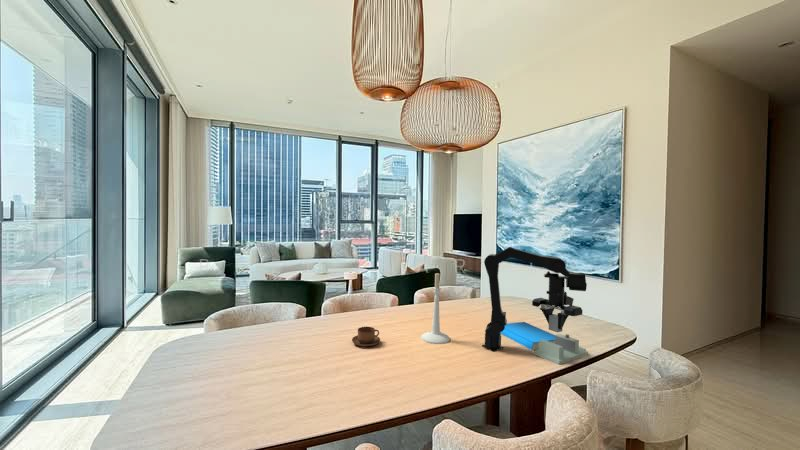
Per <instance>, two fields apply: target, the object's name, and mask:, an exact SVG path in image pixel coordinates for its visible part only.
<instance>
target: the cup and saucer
mask: <svg viewBox="0 0 800 450" xmlns="http://www.w3.org/2000/svg"><path fill="white" fill-rule="evenodd" d="M376 332H377V333H376ZM375 333H376V334H375ZM379 335H380V331H379V329H375V328H374V327H372V326H361V327H358V328H357V335H355V336H353V337H352V338H351V339H352V340H351V341H352V343H353V344H354V345H356V346H358V347H359V346H360V347H373V346H375V345H378V343H379V342H380V340H381V338H380V336H379Z"/></svg>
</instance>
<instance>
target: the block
mask: <svg viewBox="0 0 800 450" xmlns="http://www.w3.org/2000/svg"><path fill="white" fill-rule="evenodd" d="M548 331H552V332H555V333H561V332H563V328H562V329H561V330H560V329H559V325H558V314H556V313H553V314H550V315H549V324H548Z"/></svg>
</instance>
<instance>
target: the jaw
mask: <svg viewBox="0 0 800 450" xmlns="http://www.w3.org/2000/svg"><path fill="white" fill-rule="evenodd" d="M555 335H556V336H555V344H557V345H560V346H562V347H564V350H567V351H570V352H572V353H578V352H579V347H580V340H579V339H576V338H575V337H571V336H570V335H569V334H561V333H556V334H555Z"/></svg>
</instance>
